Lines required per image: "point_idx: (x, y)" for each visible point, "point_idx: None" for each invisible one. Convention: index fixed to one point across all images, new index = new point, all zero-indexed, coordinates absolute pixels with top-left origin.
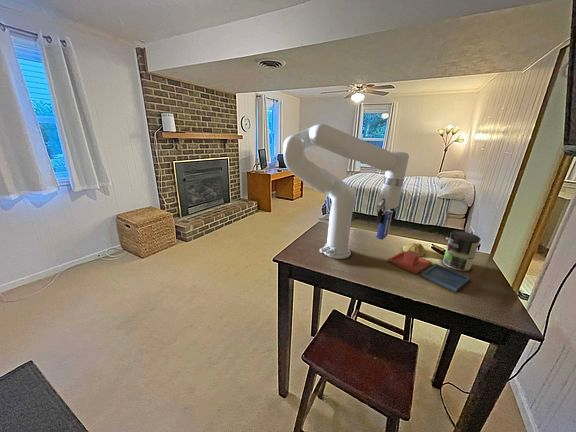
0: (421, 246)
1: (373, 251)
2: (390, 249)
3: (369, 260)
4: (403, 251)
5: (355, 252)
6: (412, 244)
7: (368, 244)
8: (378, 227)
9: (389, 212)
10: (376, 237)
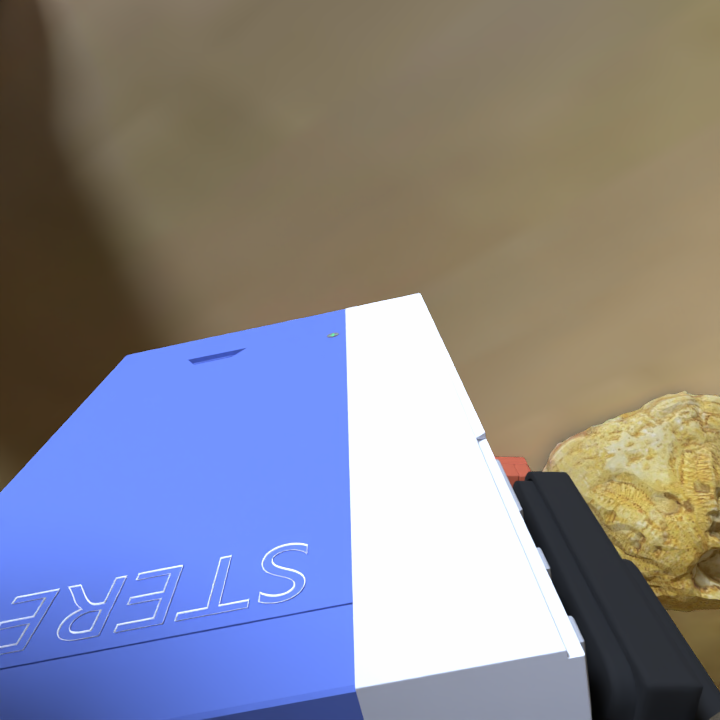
0: (698, 609)
1: (292, 226)
2: (521, 318)
3: (61, 326)
4: (511, 478)
5: (59, 101)
6: (666, 541)
7: (426, 52)
8: (38, 454)
9: None
10: (124, 361)
